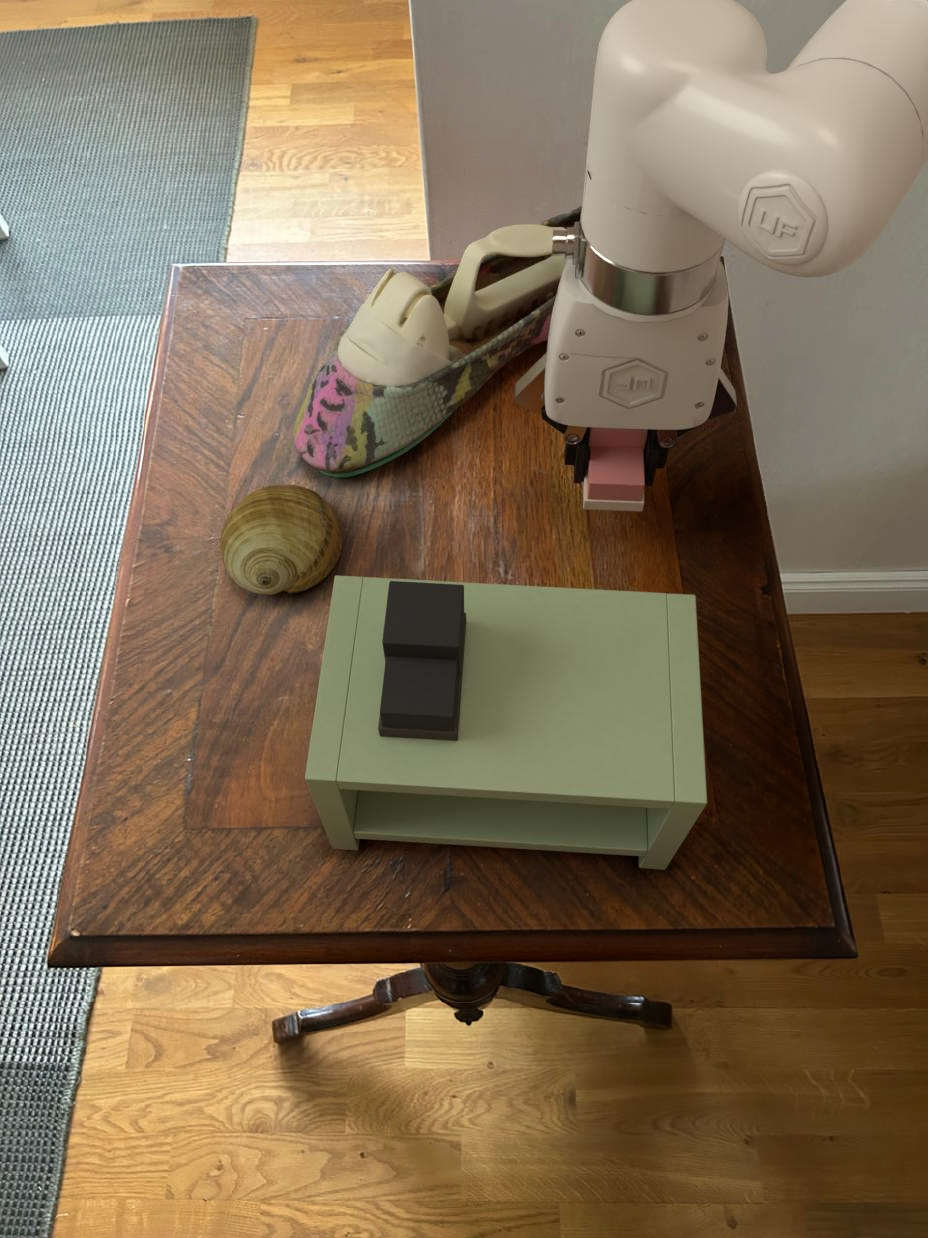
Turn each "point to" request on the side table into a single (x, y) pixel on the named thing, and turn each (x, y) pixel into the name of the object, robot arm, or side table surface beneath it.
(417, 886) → the side table surface
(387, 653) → the black stepped block
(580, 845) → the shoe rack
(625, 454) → the pink stepped block
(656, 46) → the robot arm
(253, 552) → the seashell
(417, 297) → the ballet flat
